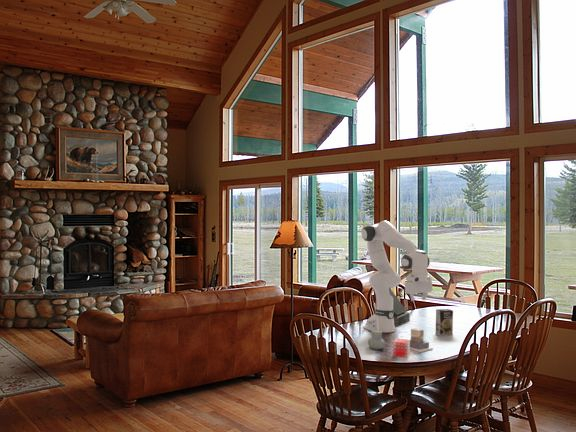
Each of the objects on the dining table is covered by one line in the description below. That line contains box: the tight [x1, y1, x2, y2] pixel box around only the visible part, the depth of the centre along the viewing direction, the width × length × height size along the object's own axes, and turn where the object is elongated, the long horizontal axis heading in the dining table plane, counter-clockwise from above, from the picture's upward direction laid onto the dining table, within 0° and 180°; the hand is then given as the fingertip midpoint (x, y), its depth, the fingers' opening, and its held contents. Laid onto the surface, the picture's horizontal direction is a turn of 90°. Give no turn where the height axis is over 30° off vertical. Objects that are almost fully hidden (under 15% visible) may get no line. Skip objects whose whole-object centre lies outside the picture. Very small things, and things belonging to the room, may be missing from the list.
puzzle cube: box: [392, 338, 411, 358], centre depth 302 cm, size 8×8×8 cm
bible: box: [371, 288, 411, 327], centre depth 392 cm, size 23×20×25 cm
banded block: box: [410, 327, 425, 343], centre depth 317 cm, size 4×6×10 cm, turn 34°
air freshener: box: [367, 330, 386, 351], centre depth 315 cm, size 11×8×10 cm
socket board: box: [409, 339, 434, 353], centre depth 317 cm, size 14×11×4 cm
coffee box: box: [435, 308, 454, 337], centre depth 353 cm, size 9×6×16 cm
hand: (418, 300), depth 325 cm, fingers open, 8 cm apart
